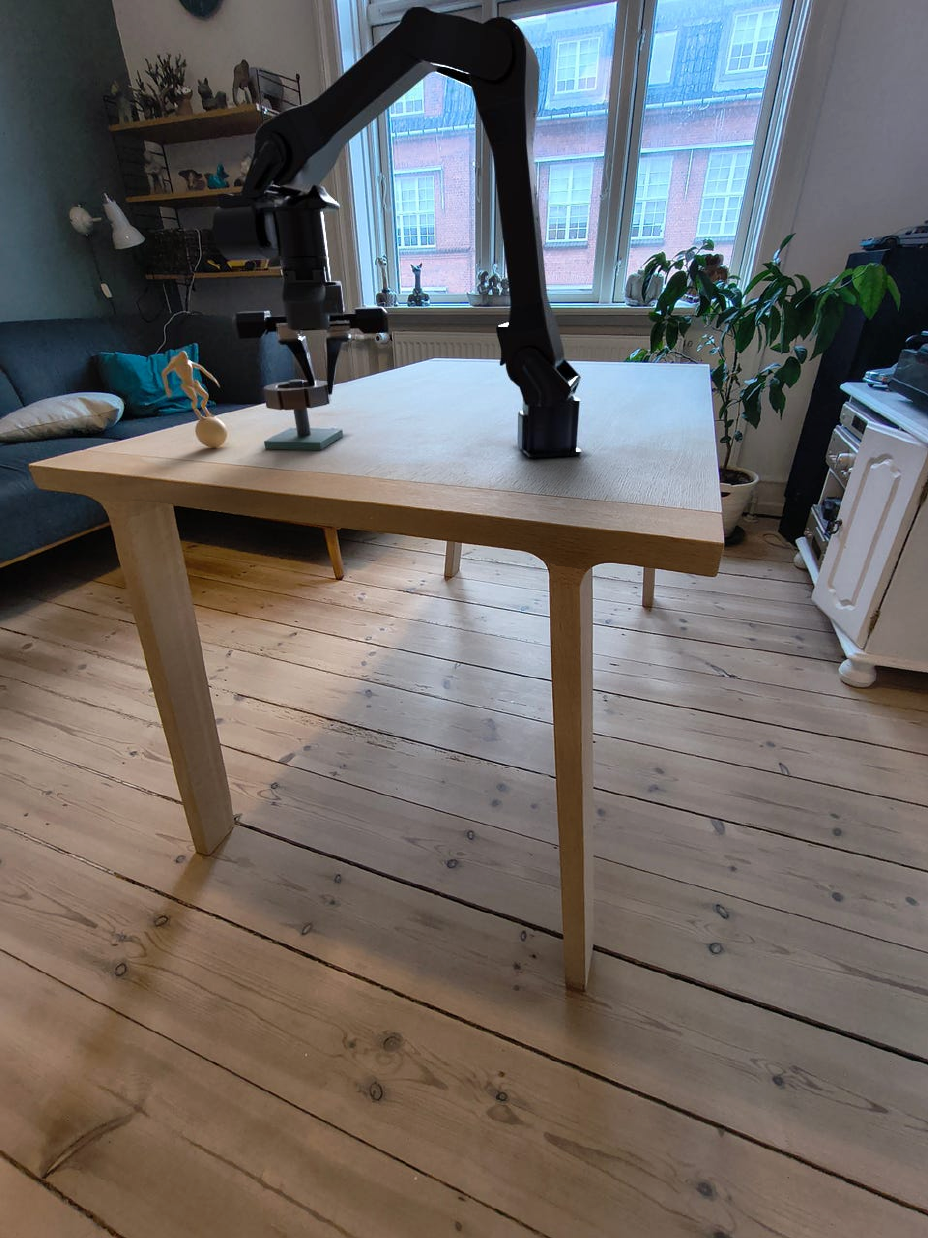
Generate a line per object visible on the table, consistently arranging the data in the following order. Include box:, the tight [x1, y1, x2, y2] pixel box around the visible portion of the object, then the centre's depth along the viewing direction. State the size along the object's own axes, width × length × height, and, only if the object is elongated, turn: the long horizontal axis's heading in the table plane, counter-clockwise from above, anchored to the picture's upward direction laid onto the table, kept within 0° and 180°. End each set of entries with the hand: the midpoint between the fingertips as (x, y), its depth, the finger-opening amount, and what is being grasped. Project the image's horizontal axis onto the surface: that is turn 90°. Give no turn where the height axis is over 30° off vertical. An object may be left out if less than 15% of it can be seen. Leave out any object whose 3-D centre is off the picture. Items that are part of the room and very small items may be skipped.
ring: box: [262, 379, 332, 411], centre depth 79 cm, size 8×8×2 cm
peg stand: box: [263, 379, 344, 451], centre depth 80 cm, size 8×8×8 cm
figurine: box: [161, 350, 228, 448], centre depth 78 cm, size 8×6×12 cm
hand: (323, 394), depth 79 cm, fingers closed on ring, 2 cm apart
